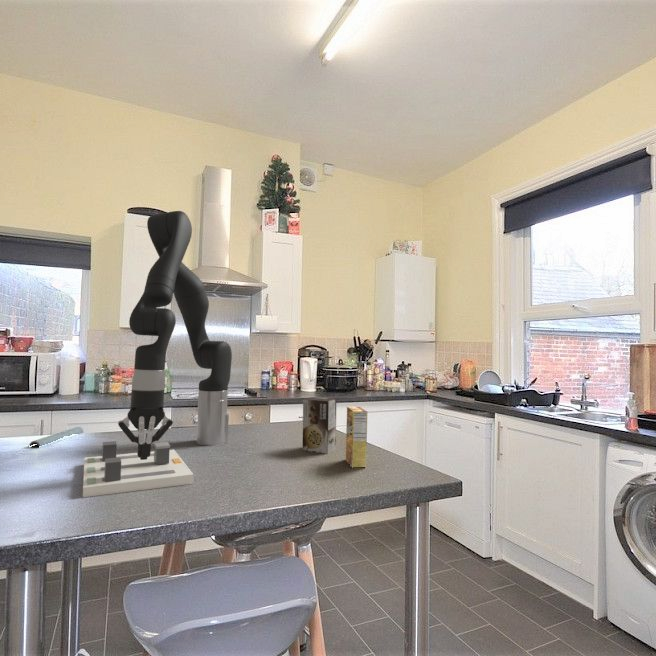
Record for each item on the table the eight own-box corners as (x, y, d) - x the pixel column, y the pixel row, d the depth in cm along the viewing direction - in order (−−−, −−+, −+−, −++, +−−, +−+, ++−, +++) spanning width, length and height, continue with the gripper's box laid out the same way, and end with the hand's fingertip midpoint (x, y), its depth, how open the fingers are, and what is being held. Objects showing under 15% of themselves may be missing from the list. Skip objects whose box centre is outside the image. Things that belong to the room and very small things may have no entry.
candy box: (344, 460, 124) (345, 406, 124) (359, 459, 125) (360, 406, 125) (351, 468, 115) (352, 410, 116) (367, 468, 116) (368, 410, 116)
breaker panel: (173, 458, 121) (174, 435, 122) (193, 485, 99) (194, 456, 99) (83, 467, 111) (85, 441, 111) (82, 500, 88) (84, 467, 88)
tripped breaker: (166, 458, 110) (167, 441, 110) (169, 463, 106) (170, 445, 107) (153, 460, 109) (154, 443, 109) (155, 464, 105) (156, 446, 105)
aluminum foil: (39, 452, 126) (40, 441, 126) (16, 452, 126) (17, 440, 126) (83, 436, 148) (83, 426, 149) (64, 436, 148) (64, 426, 149)
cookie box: (336, 450, 136) (337, 398, 136) (327, 454, 130) (329, 400, 130) (310, 446, 139) (311, 396, 140) (301, 450, 134) (302, 398, 134)
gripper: (173, 386, 113) (169, 453, 112) (117, 386, 107) (112, 457, 106) (178, 389, 107) (174, 460, 106) (119, 389, 100) (114, 465, 99)
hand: (143, 458), depth 106 cm, fingers closed
